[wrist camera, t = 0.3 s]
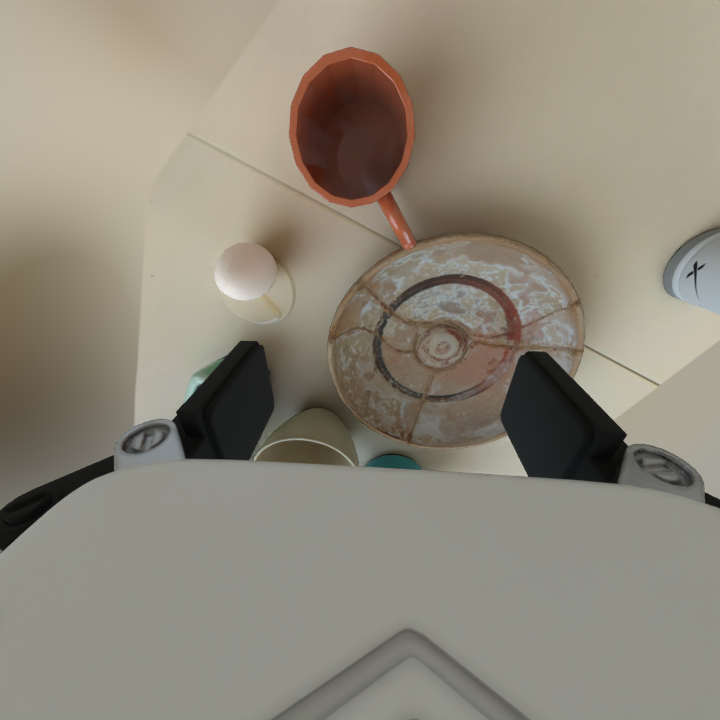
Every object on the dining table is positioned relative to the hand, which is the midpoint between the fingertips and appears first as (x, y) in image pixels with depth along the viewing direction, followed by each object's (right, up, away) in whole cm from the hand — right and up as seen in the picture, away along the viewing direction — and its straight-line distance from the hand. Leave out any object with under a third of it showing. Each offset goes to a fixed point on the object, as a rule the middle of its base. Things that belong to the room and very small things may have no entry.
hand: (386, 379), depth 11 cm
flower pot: (-6, -8, +28) cm, 30 cm away
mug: (0, +16, +13) cm, 21 cm away
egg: (-11, +10, +18) cm, 23 cm away
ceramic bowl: (+8, +3, +21) cm, 23 cm away
